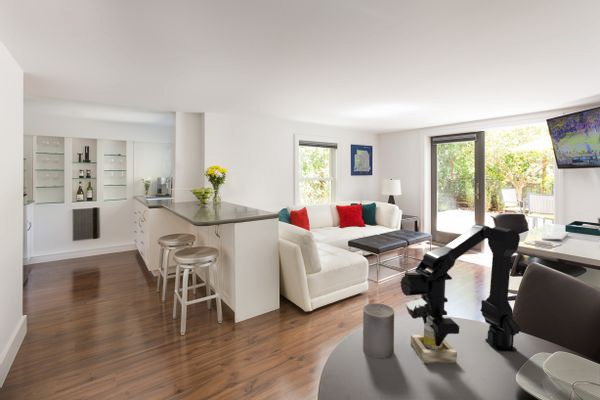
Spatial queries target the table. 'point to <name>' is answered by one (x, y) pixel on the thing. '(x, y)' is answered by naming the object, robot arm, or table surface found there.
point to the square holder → (433, 351)
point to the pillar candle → (378, 330)
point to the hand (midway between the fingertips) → (433, 340)
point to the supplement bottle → (430, 336)
